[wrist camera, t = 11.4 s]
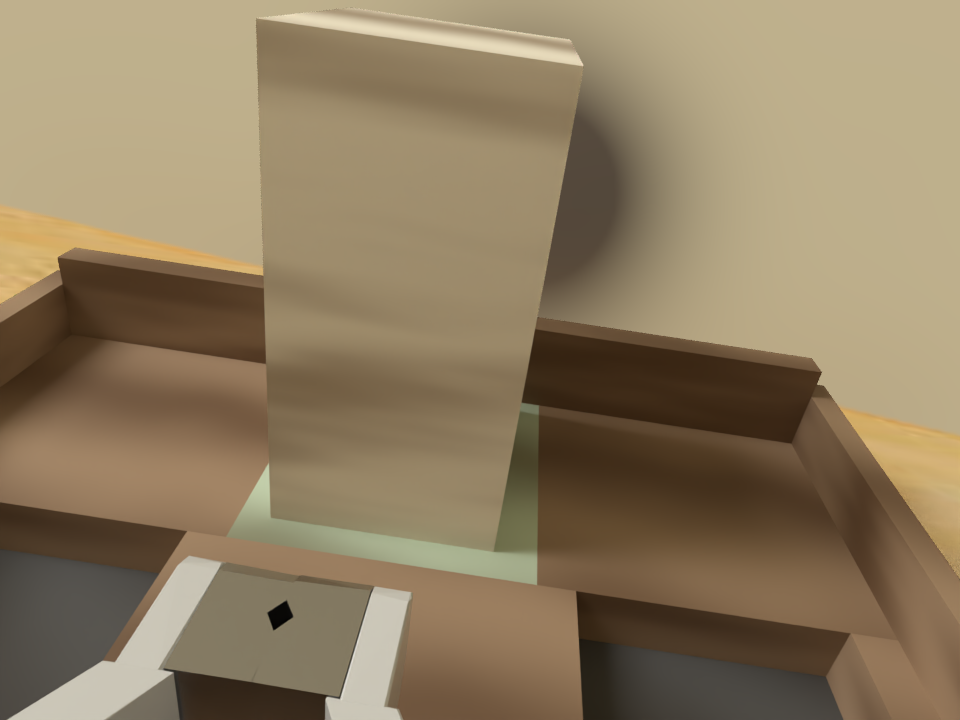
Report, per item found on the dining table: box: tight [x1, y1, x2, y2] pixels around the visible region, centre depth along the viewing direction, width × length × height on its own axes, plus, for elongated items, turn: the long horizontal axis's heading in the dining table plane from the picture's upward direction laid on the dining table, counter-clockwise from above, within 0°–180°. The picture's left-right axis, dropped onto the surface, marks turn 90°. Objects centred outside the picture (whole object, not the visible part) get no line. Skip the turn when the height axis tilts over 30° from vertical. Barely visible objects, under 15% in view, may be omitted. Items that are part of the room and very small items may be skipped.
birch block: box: [256, 8, 584, 552], centre depth 18 cm, size 7×6×12 cm
